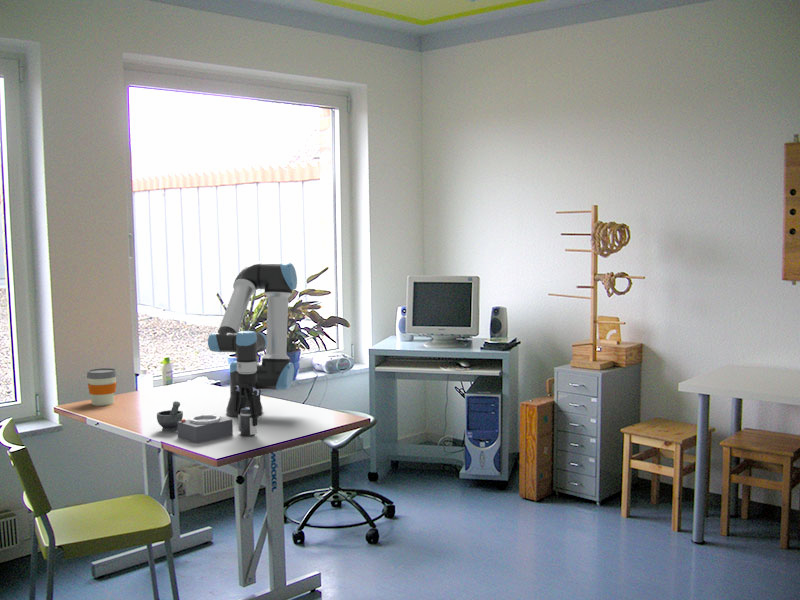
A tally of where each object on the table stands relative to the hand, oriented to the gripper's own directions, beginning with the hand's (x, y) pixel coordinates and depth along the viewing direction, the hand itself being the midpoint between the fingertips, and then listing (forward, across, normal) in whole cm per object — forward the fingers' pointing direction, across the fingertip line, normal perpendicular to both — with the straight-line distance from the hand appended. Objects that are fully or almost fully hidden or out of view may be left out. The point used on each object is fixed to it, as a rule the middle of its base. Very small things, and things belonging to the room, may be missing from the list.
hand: (247, 432), depth 291 cm
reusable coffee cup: (+1, -93, -10) cm, 94 cm away
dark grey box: (+1, -10, -12) cm, 16 cm away
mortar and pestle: (+1, -27, -16) cm, 31 cm away
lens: (+1, 0, 0) cm, 1 cm away
